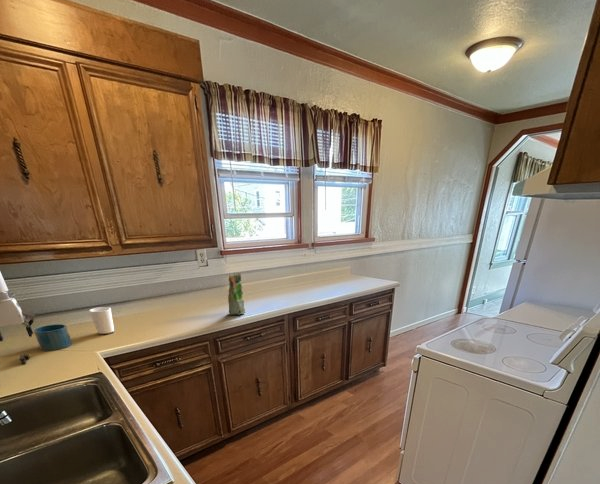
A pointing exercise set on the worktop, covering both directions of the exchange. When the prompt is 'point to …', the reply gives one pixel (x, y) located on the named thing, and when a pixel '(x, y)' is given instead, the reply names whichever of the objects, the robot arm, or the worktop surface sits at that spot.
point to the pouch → (235, 295)
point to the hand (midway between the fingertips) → (16, 338)
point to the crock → (53, 337)
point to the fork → (24, 358)
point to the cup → (102, 320)
